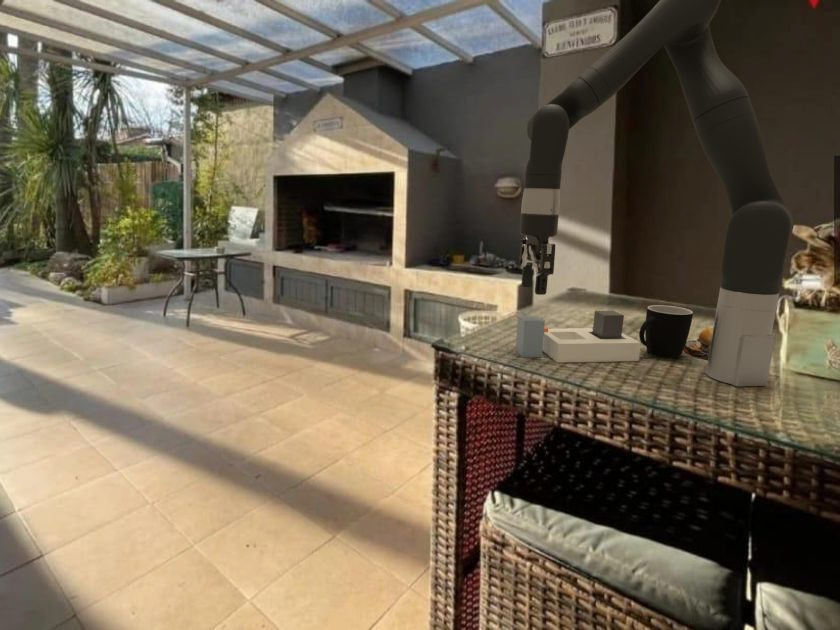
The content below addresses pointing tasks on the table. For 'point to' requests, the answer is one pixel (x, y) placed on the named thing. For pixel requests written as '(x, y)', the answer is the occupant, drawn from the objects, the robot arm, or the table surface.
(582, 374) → the table surface
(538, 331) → the plug
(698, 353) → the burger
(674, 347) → the mug
